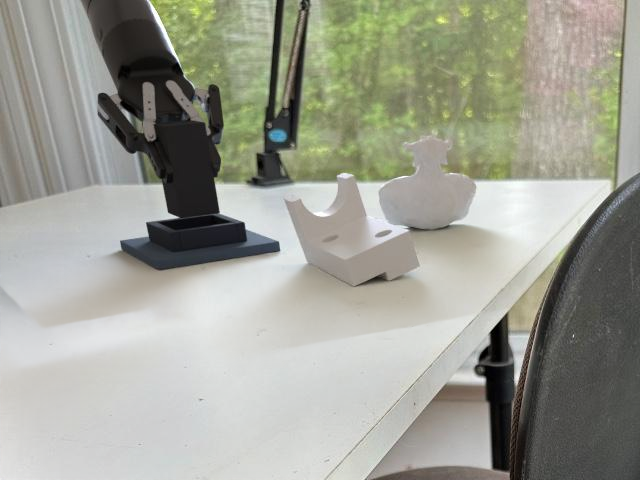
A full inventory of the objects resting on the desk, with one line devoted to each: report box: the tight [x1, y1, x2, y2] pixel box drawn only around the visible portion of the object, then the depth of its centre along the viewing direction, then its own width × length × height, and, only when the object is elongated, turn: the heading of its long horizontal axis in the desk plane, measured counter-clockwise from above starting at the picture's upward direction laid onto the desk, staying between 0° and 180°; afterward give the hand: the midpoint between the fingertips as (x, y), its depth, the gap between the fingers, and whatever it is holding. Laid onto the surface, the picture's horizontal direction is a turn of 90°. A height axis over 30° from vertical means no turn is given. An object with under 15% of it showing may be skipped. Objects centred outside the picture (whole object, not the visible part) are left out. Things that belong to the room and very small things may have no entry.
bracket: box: [283, 172, 421, 287], centre depth 90 cm, size 13×7×8 cm, turn 28°
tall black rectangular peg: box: [153, 120, 221, 218], centre depth 98 cm, size 4×4×9 cm
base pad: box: [119, 213, 281, 271], centre depth 102 cm, size 14×14×3 cm
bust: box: [378, 133, 478, 231], centre depth 106 cm, size 12×8×11 cm
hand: (192, 174), depth 97 cm, fingers closed on tall black rectangular peg, 4 cm apart
